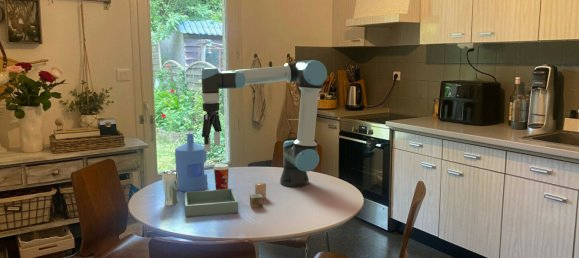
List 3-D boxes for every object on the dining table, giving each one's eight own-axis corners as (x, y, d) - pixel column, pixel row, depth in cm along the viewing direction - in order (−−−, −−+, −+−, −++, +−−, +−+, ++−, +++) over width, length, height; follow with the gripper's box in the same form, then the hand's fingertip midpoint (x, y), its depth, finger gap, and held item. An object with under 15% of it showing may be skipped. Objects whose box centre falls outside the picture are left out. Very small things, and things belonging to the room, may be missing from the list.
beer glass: (182, 202, 205) (180, 170, 203) (173, 207, 199) (172, 174, 197) (169, 200, 208) (167, 169, 205) (160, 205, 201) (158, 173, 199)
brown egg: (264, 196, 214) (264, 182, 213) (266, 199, 209) (266, 185, 208) (254, 197, 213) (254, 183, 212) (256, 200, 208) (256, 185, 207)
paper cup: (226, 195, 215) (226, 167, 213) (211, 194, 217) (210, 166, 214) (232, 191, 223) (231, 163, 220) (217, 190, 224) (216, 163, 222)
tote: (232, 198, 210) (232, 188, 210) (238, 212, 191) (238, 201, 191) (184, 202, 205) (184, 192, 204) (185, 217, 186) (185, 205, 185)
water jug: (170, 190, 223) (167, 135, 219) (188, 182, 238) (186, 131, 233) (196, 194, 218) (194, 137, 213) (213, 185, 232) (211, 132, 228)
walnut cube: (260, 204, 203) (260, 193, 202) (262, 208, 198) (262, 197, 197) (249, 205, 202) (249, 194, 201) (251, 208, 197) (251, 198, 196)
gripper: (212, 99, 215) (213, 142, 218) (192, 105, 190) (194, 153, 194) (227, 99, 213) (228, 143, 217) (209, 105, 189) (211, 154, 193)
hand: (212, 148), depth 205 cm, fingers open, 13 cm apart
